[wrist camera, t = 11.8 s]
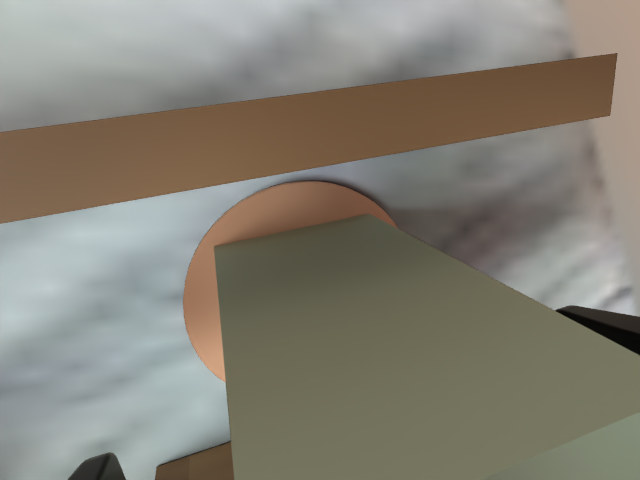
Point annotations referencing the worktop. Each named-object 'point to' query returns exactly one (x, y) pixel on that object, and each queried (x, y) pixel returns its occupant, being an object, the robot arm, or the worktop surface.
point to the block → (410, 367)
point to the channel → (278, 164)
